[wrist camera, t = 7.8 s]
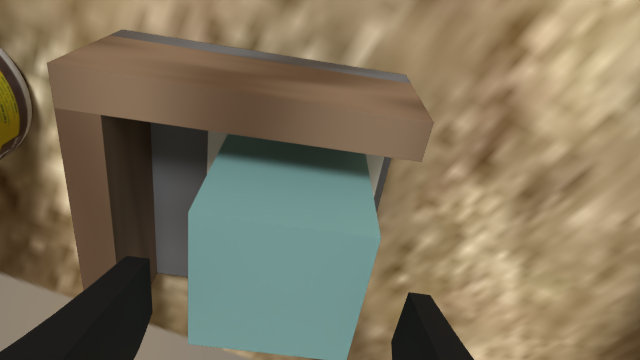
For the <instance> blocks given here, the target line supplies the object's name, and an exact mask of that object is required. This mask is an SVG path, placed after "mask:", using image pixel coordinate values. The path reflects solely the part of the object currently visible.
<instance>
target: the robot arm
mask: <svg viewBox="0 0 640 360" xmlns="http://www.w3.org/2000/svg"><path fill="white" fill-rule="evenodd" d="M151 315H152V295H151V277H150V259H149V258H141V257H133V256H126V257H124V258H123V259H121V260H120V261H119V262H118V263H117V264H115V265H114V266H113V267H112V268H111V269H109V270H108V271H107V272H106V273H105V274H103V275H102V276H101V277H100V278H99V279H97V280H96V281H95V282H94V283H93V284H91V285H90V286H89V287H88V288H86V289H85V290H84V291H83V292H82V293H80V294H79V295H78V296H76V297H75V298H74V299H73V300H71V301H70V302H69V303H68V304H66V305H65V306H64V307H63V308H61V309H60V310H59V311H57V312H56V313H55V314H53V315H52V316H51V317H49V318H48V319H46V320H45V321H44V322H42V323H41V324H40V325H38V326H37V327H35V328H34V329H33V330H31V331H30V332H28V333H27V334H26V335H24V336H23V337H22V338H20V339H19V340H17V341H16V342H14V343H13V344H11V345H10V346H8V347H7V348H5V349H4V350H2V351H1V352H0V360H133V359H134V358H135V356H136V354H137V352H138V349H139V347H140V344H141V342H142V339H143V337H144V334H145V332H146V329H147V326H148V323H149V321H150V318H151ZM391 344H392V360H474V359H473V358H472V356H471V355H470V353H469V352H468V351H467V349H466V348H465V346H464V345H463V344H462V342H461V341H460V339H459V338H458V336H457V335H456V333H455V332H454V330H453V329H452V327H451V326H450V324H449V323H448V321H447V320H446V318H445V317H444V315H443V314H442V312H441V311H440V309H439V308H438V306H437V305H436V303H435V302H434V300H433V299H432V297H431V296H430V295H425V294H418V293H410V292H409V293H408V296H407V299H406V301H405V304H404V307H403V310H402V313H401V316H400V318H399V321H398V324H397V327H396V330H395V333H394V336H393V338H392V341H391Z"/></svg>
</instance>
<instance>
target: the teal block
mask: <svg viewBox="0 0 640 360" xmlns="http://www.w3.org/2000/svg"><path fill="white" fill-rule="evenodd" d="M380 240H381V235H380V230H379V224H378V219H377V213H376V208H375V202H374V197H373V192H372V186H371V181H370V175H369V170H368V164H367V159H366V154H363V153H356V152H349V151H342V150H336V149H329V148H322V147H315V146H308V145H301V144H295V143H288V142H281V141H274V140H267V139H261V138H254V137H247V136H240V135H233V134H228V135H227V137H226V139H225V140H224V142H223V144H222V146H221V148H220V150H219V152H218V154H217V156H216V158H215V160H214V162H213V164H212V166H211V168H210V170H209V172H208V174H207V176H206V178H205V180H204V182H203V184H202V186H201V188H200V190H199V192H198V194H197V196H196V198H195V200H194V202H193V204H192V206H191V208H190V210H189V212H188V344H192V345H201V346H209V347H218V348H227V349H236V350H245V351H253V352H262V353H271V354H280V355H288V356H297V357H306V358H315V359H324V360H347V357H348V353H349V349H350V346H351V342H352V339H353V335H354V332H355V328H356V325H357V321H358V318H359V314H360V311H361V307H362V304H363V300H364V296H365V293H366V289H367V286H368V282H369V279H370V275H371V272H372V268H373V265H374V261H375V258H376V254H377V250H378V247H379V243H380Z"/></svg>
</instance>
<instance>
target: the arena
mask: <svg viewBox="0 0 640 360" xmlns="http://www.w3.org/2000/svg"><path fill="white" fill-rule="evenodd" d="M47 66H48V73H49V79H50V85H51V91H52V97H53V103H54V110H55V116H56V122H57V128H58V134H59V141H60V147H61V153H62V159H63V165H64V171H65V178H66V184H67V190H68V196H69V202H70V209H71V215H72V221H73V227H74V233H75V239H76V246H77V252H78V258H79V264H80V270H81V277H82V283H83V289H84V290H85V289H86V288H88V287H89V286H90V285H91V284H93V283H94V282H95V281H96V280H97V279H99V278H100V277H101V276H102V275H103V274H105V273H106V272H107V271H108V270H109V269H111V268H112V267H113V266H114V265H115V264H117V263H118V262H119V261H120V260H121V259H123V258H124V257H126V256H133V257H141V258H149V259H150V277H151V284H152V282H153V280H154V278H155V276H156V274H157V273H162V274H170V275H178V276H186V277H188V212H189V210H190V208H191V206H192V204H193V202H194V200H195V198H196V196H197V194H198V192H199V190H200V188H201V186H202V184H203V182H204V180H205V178H206V176H207V174H208V172H209V170H210V168H211V166H212V164H213V162H214V160H215V158H216V156H217V154H218V152H219V150H220V148H221V146H222V144H223V142H224V140H225V139H226V137H227V135H228V134H233V135H240V136H247V137H254V138H261V139H267V140H274V141H281V142H288V143H295V144H301V145H308V146H315V147H322V148H329V149H336V150H342V151H349V152H356V153H363V154H366V159H367V164H368V170H369V175H370V181H371V186H372V192H373V197H374V202H375V208H376V212H377V209H378V205H379V201H380V197H381V194H382V190H383V186H384V183H385V179H386V175H387V171H388V168H389V164H390V160H391V158H397V159H404V160H411V161H418V162H422V159H423V156H424V153H425V149H426V146H427V143H428V140H429V136H430V133H431V130H432V127H433V123H434V122H433V120H432V118H431V117H430V115H429V113H428V112H427V110H426V108H425V107H424V105H423V103H422V101H421V100H420V98H419V96H418V95H417V93H416V91H415V90H414V88H413V86H412V84H411V83H410V81H409V79H408V78H407V76H406V75H401V74H395V73H389V72H383V71H376V70H370V69H364V68H358V67H351V66H345V65H339V64H333V63H327V62H320V61H314V60H308V59H302V58H295V57H289V56H283V55H277V54H271V53H264V52H258V51H252V50H246V49H239V48H233V47H227V46H221V45H215V44H208V43H202V42H196V41H190V40H183V39H177V38H171V37H165V36H159V35H152V34H146V33H140V32H134V31H127V30H120V31H118V32H116V33H113V34H111V35H109V36H107V37H104V38H102V39H100V40H98V41H95V42H93V43H91V44H88V45H86V46H84V47H82V48H79V49H77V50H75V51H73V52H70V53H68V54H66V55H64V56H61V57H59V58H57V59H55V60H52V61H50V62H48V63H47Z"/></svg>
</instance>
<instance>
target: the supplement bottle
mask: <svg viewBox="0 0 640 360" xmlns="http://www.w3.org/2000/svg"><path fill="white" fill-rule="evenodd" d="M31 117H32V106H31V99H30V95H29V92H28V88H27V86H26V84H25V81H24V79H23V77H22V75H21V73H20V72H19V70H18V69H17V67H16V66H15V64H14V63H13V61H12V60H11V59H10V58H9V56H8V55H7V54H6V53H5V52H4V51H3V50H2V49H1V48H0V160H1V159H2V158H4V157H5V156H6V155H8V154H9V153H10V152H12V151H13V150H14V149H15V148H16V147H18V146H19V145H20V143H21V142H22V141H23V139H24V138H25V136H26V135H27V133H28V130H29V127H30V123H31Z"/></svg>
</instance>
